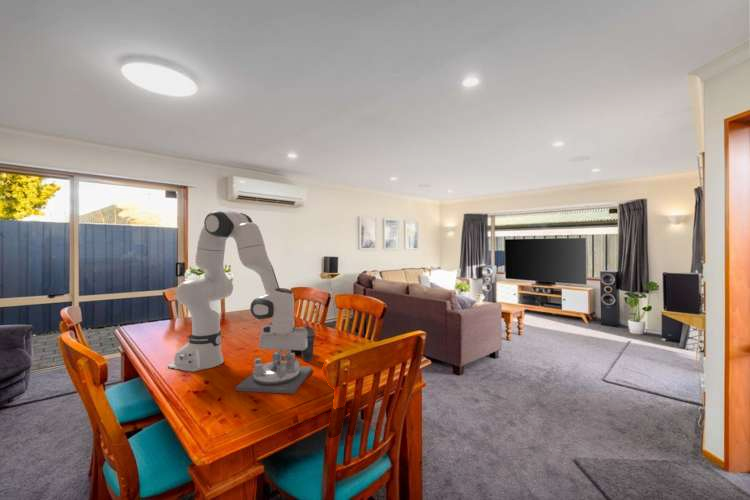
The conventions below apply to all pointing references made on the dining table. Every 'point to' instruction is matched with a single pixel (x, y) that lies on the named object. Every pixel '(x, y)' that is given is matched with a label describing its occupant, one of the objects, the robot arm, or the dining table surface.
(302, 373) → the base plate
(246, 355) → the dining table surface
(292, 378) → the grey round pegged disc
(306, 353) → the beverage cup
